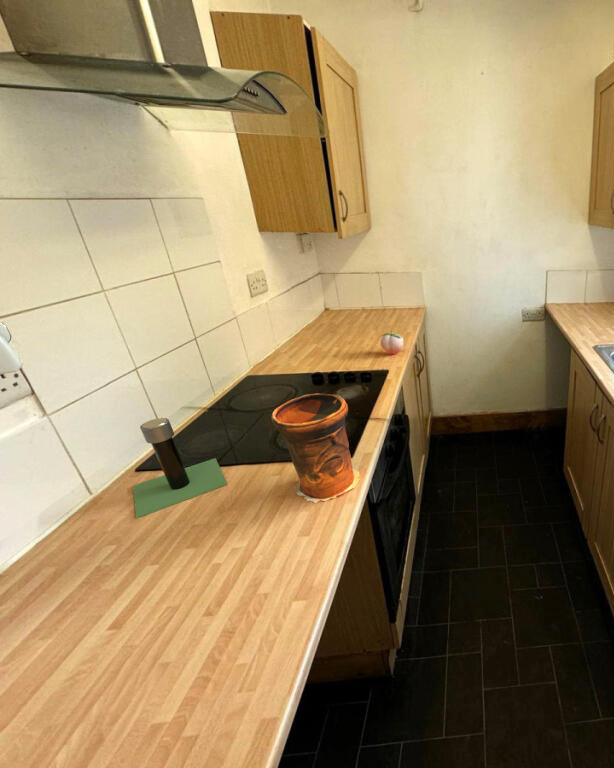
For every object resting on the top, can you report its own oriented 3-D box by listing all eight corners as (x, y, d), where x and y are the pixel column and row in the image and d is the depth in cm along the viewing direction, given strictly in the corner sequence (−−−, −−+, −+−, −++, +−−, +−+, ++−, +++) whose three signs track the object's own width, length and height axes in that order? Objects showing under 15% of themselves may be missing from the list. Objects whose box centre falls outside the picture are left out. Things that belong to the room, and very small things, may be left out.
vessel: (312, 516, 85) (289, 431, 76) (282, 487, 93) (258, 408, 85) (374, 482, 95) (359, 404, 86) (342, 459, 103) (326, 386, 95)
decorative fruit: (408, 351, 175) (406, 328, 171) (401, 358, 168) (398, 334, 164) (387, 350, 177) (384, 327, 173) (379, 357, 169) (375, 333, 165)
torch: (168, 494, 91) (140, 431, 84) (166, 484, 94) (138, 422, 88) (194, 485, 94) (169, 423, 87) (191, 475, 97) (167, 415, 91)
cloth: (136, 518, 85) (136, 517, 85) (133, 486, 94) (132, 485, 94) (227, 484, 94) (226, 483, 94) (216, 458, 104) (215, 457, 104)
